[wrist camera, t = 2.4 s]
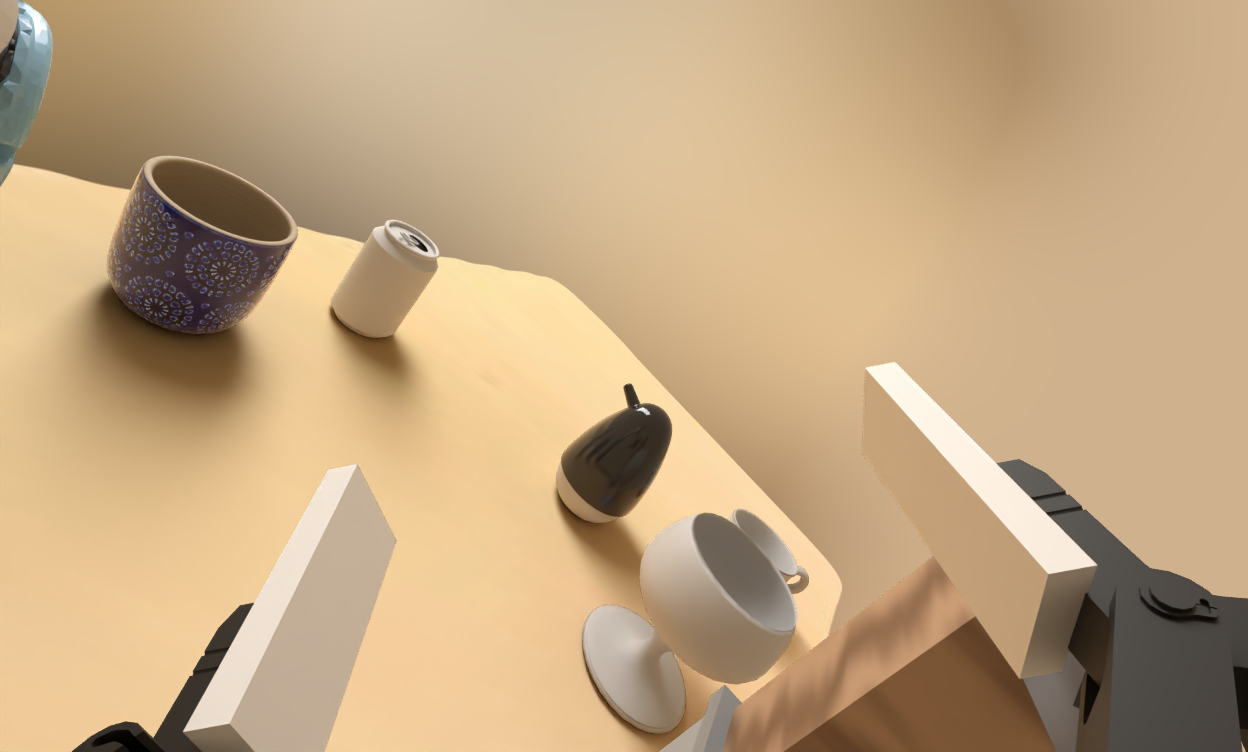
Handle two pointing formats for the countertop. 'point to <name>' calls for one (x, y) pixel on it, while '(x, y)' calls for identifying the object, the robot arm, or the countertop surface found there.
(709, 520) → the chalice
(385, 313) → the can
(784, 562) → the teacup
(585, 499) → the pump dispenser
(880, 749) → the walnut handle block
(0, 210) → the countertop surface
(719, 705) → the stand
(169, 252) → the planter
